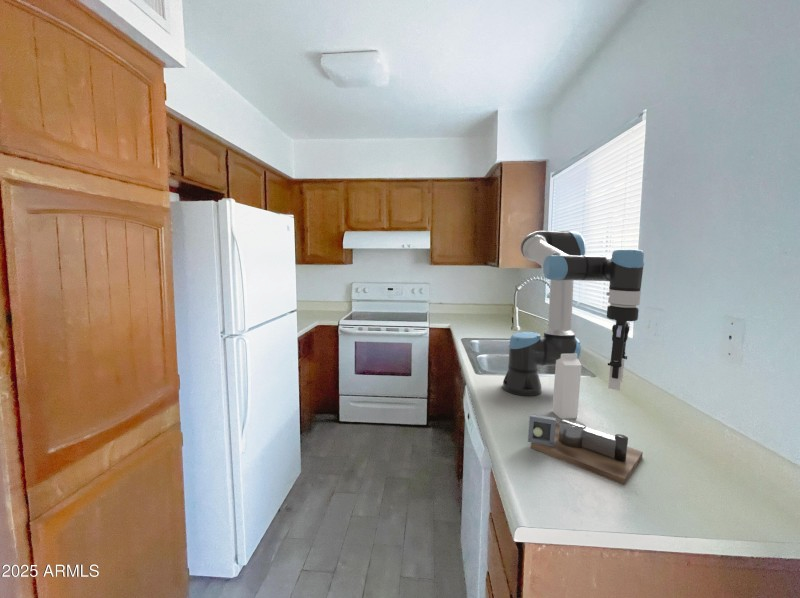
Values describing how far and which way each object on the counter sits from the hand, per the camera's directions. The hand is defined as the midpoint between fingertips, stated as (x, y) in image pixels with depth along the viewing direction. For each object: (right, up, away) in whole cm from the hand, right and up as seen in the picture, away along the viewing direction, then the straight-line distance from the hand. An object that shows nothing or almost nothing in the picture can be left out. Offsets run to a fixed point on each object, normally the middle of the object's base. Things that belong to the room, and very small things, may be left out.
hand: (615, 384), depth 108 cm
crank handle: (-8, -17, -1) cm, 19 cm away
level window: (-21, -17, +1) cm, 27 cm away
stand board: (-9, -19, 0) cm, 21 cm away
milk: (-4, -16, +24) cm, 29 cm away
